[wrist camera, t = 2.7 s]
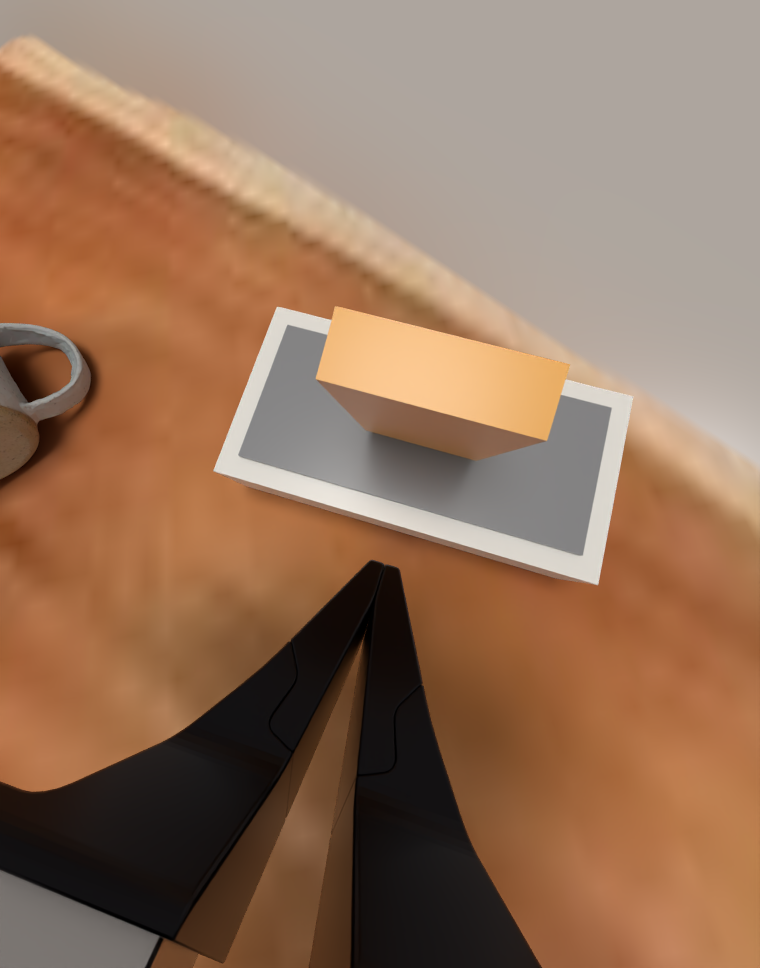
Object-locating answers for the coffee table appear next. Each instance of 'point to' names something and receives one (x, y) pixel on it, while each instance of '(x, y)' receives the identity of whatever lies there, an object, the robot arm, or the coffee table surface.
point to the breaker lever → (438, 386)
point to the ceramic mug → (13, 421)
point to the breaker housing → (429, 465)
